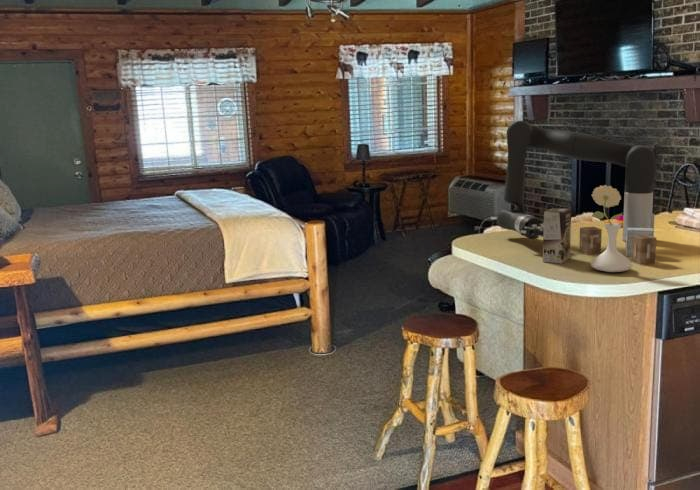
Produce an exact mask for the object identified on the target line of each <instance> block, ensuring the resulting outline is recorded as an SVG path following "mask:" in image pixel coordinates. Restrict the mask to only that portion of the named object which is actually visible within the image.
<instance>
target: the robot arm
mask: <svg viewBox="0 0 700 490" xmlns="http://www.w3.org/2000/svg"><path fill="white" fill-rule="evenodd" d="M506 143H507V167H506V175H505V184H504V195H503V201H504V202H506V203H507V204H512V205H513V206H514V207H515V209H506V208H505V209H501V210H500V211H499V212H498V213H497V216H496V222H497V223H496V224H497V225H498V226H499V227H500V228H501V229H503V230H507V231H514V232H516V233H519V235H521V236H522V237H526V238H527V239H530V240H535V239H538V238H543V231H544V221H543V220H541V219H540V218H539V217H535V216H534V215H530V214H526V213H527V212H526V209H525V201H524V197H525V196H524V195H525V188H526V187H525V185H526V169H525V168H526V157H527V155H526V154H527V150H528V148H533V149H540V150H545V151H548V152H551V153H554V154H556V155H560V156H561V157H562V156H563V157H567V158H570V159H574V160H579V161H584V162H595V163H596V162H598V163H609V164H615V165H619V166H621V167H625V179H624V196H623V198H624V199H623V215H624V218H623V227H622V241H624V242H626V230H627V228H652V229H653V230H654V231H655V216H656V215H655V213H653V204H654V201H653V200H654V186H655V174H656V155H655V153H654V151H653V150H652V149H651V148H650V147H649V146H646V145H641V144H628V143H621V142H620V143H619V142H614V141H611V140H608V139H605V138H603V137H602V138H601V137H598V136H595V135H591V134H587V133H582V132H577V131H570V130H559V129H547V128H543V127H539V126H537V125H533V124H530V123H528V122H527V121H523V120H515V121H513V122H512V123H510V125H509V126H508V127H507V130H506Z"/></svg>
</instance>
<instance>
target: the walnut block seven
mask: <svg viewBox="0 0 700 490" xmlns="http://www.w3.org/2000/svg"><path fill="white" fill-rule="evenodd" d="M602 231H603V230H602V228H599V227H596V226H586V227H585V226H584V227H583V226H581V227H579V243H578V244H579V245H578V246H579V252H581V253H583V254H585V255H595V254H596V253H597V254H602V233H603V232H602Z"/></svg>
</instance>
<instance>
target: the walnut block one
mask: <svg viewBox="0 0 700 490" xmlns="http://www.w3.org/2000/svg"><path fill="white" fill-rule="evenodd" d="M656 250H657V237H656V236H654V237H652V236H649V235H636V236H632V245H631V256H630V262H631V263H634V264H637V265H639V266H640V265H641V266H642V265H653V264H654V265H655V264H656V253H657V251H656Z"/></svg>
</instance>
